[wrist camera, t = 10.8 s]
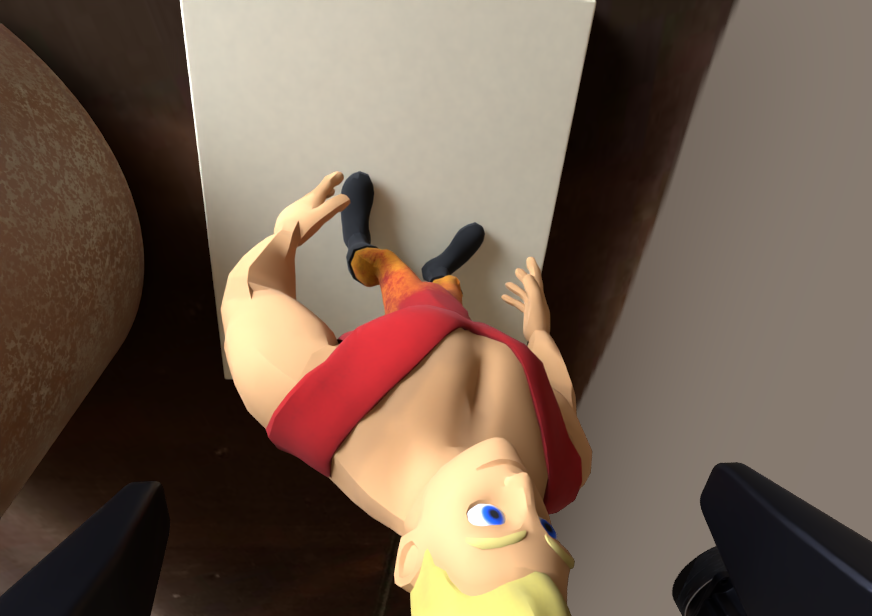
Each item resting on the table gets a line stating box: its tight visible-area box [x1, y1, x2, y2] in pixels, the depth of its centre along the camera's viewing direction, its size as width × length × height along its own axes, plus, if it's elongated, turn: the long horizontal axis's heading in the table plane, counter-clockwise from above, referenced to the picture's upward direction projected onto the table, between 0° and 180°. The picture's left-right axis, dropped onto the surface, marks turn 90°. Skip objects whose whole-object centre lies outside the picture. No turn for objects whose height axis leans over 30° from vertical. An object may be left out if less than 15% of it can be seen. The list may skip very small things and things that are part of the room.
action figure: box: [220, 171, 592, 616], centre depth 12 cm, size 10×4×15 cm, turn 63°
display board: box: [180, 0, 596, 379], centre depth 19 cm, size 12×14×1 cm
